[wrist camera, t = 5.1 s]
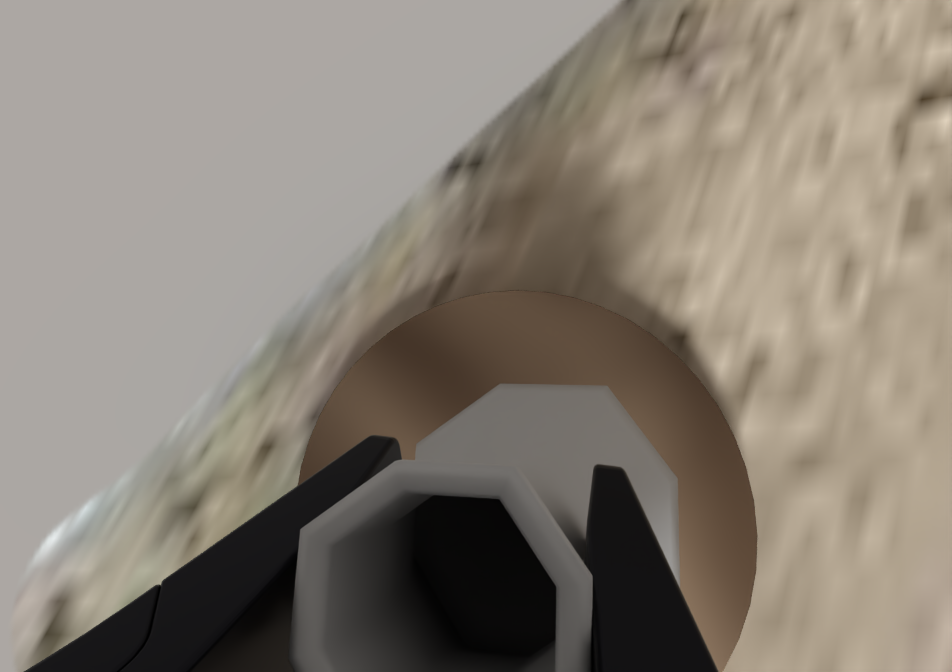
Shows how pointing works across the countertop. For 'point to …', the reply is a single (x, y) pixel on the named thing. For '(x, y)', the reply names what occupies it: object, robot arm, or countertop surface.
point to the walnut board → (565, 363)
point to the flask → (475, 541)
